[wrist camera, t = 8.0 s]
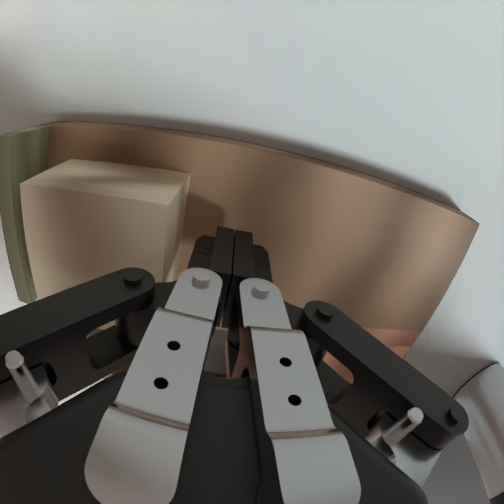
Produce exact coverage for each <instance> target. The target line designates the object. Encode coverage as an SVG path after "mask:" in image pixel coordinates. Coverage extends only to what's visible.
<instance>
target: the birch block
mask: <svg viewBox="0 0 504 504" xmlns="http://www.w3.org/2000/svg"><path fill="white" fill-rule="evenodd" d="M190 175H191V174H190V173H183V172H177V171H171V170H164V169H157V168H150V167H142V166H135V165H127V164H119V163H110V162H101V161H91V160H80V159H70V160H68V161H66V162H63V163H61V164H59V165H57V166H54V167H52V168H50V169H48V170H46V171H44V172H42V173H40V174H38V175H36V176H34V177H32V178H30V179H28V180H26V181H24V182H22V183H20V193H21V206H22V216H23V224H24V232H25V239H26V245H27V251H28V257H29V262H30V267H31V272H32V276H33V281H34V285H35V289H36V293H37V297H38V300H40V299H42V298H45V297H48V296H50V295H53V294H55V293H58V292H61V291H63V290H66V289H69V288H71V287H74V286H77V285H79V284H82V283H85V282H87V281H90V280H93V279H95V278H98V277H101V276H104V275H106V274H109V273H112V272H115V271H117V270H120V269H123V268H129V267H136V268H141V269H144V270H147V271H148V272H150V273H151V274H152V275H153V276H154V279H155V283H159V282H172V281H176V280H177V279H178V269H179V259H180V250H181V241H182V233H183V225H184V217H185V209H186V202H187V195H188V188H189V182H190ZM113 325H115V320H114V321H111V322H109V323H107V324H105V325H103V326H101V327H98V329H102V330H105V329H107V328H109V327H111V326H113Z"/></svg>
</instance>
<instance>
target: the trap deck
mask: <svg viewBox="0 0 504 504" xmlns="http://www.w3.org/2000/svg"><path fill="white" fill-rule="evenodd" d="M70 159H80V160H91V161H101V162H110V163H119V164H127V165H135V166H142V167H150V168H157V169H164V170H171V171H177V172H183V173H190V174H191V175H190V182H189V188H188V195H187V202H186V209H185V217H184V225H183V233H182V241H181V250H180V259H179V269H178V278H179V276H180V274H181V273H182V272H183V271H184V270H186V269H187V267H188V264H189V261H190V257H191V254H192V251H193V248H194V245H195V242H196V239H198V238H199V237H200V236H202V235H207V236H212V237H215V236H216V231H217V226H220V227H226V228H231V229H234V233H235V230H241V231H247V232H252V233H253V244H255V245H260V246H263V247H264V248H265V250H266V251H267V252H268V254H269V261H270V267H271V274H272V280H273V284H274V285H276V286H277V287H278V288H279V290H280V292H281V294H282V298H283V300H284V301H286V302H287V303H289V304H292V305H294V306H297V307H300V308H303V309H304V306H305V304H306V303H308V302H310V301H314V300H319V301H324V302H327V303H329V304H331V305H333V306H335V307H336V308H337V309H339V310H340V311H341V312H343V313H344V314H345V315H347V316H348V317H349V318H350V319H352V320H353V321H354V322H356V323H357V324H358V325H360V326H361V327H362V328H363V329H365V330H366V331H367V332H369V333H370V334H371V335H372V336H374V337H375V338H376V339H378V340H379V341H380V342H382V343H383V344H384V345H385V346H387V347H388V348H389V349H391V350H392V351H393V352H394V353H396V354H397V355H398V356H400V357H401V358H403V357H404V356H405V354H406V353H407V352H408V350H409V349H410V347H411V346H412V345H413V343H414V342H415V340H416V339H417V337H418V336H419V335H420V333H421V332H422V330H423V329H424V327H425V326H426V324H427V322H428V321H429V319H430V318H431V316H432V315H433V313H434V311H435V310H436V308H437V306H438V305H439V303H440V301H441V300H442V298H443V296H444V295H445V293H446V291H447V289H448V288H449V286H450V284H451V282H452V280H453V279H454V277H455V275H456V273H457V271H458V269H459V267H460V265H461V263H462V261H463V259H464V257H465V255H466V253H467V251H468V249H469V247H470V245H471V242H472V240H473V238H474V236H475V233H476V231H477V229H478V227H479V223H478V222H476V221H475V220H473V219H472V218H471V217H469V216H468V215H466V214H465V213H463V212H462V211H460V210H457V209H455V208H453V207H451V206H448V205H446V204H444V203H441V202H439V201H437V200H434V199H432V198H429V197H427V196H424V195H422V194H419V193H417V192H414V191H412V190H409V189H406V188H404V187H401V186H398V185H396V184H393V183H390V182H387V181H385V180H382V179H379V178H376V177H373V176H370V175H367V174H364V173H361V172H358V171H355V170H351V169H348V168H345V167H342V166H338V165H335V164H332V163H328V162H325V161H321V160H318V159H314V158H310V157H307V156H303V155H299V154H295V153H291V152H287V151H283V150H279V149H275V148H270V147H266V146H262V145H257V144H252V143H248V142H243V141H238V140H233V139H227V138H222V137H216V136H211V135H205V134H199V133H192V132H186V131H179V130H172V129H164V128H156V127H147V126H137V125H126V124H113V123H98V122H73V121H56V122H51V123H46V124H42V125H38V126H34V127H30V128H26V129H22V130H18V131H14V132H11V133H7V134H4V135H1V136H0V212H1V220H2V227H3V233H4V239H5V245H6V250H7V255H8V260H9V264H10V268H11V273H12V277H13V281H14V284H15V288H16V292H17V295H18V299H19V300H20V301H22V302H25V303H28V304H30V303H32V302H35V300H36V299H37V298H38V297H37V293H36V289H35V285H34V281H33V276H32V272H31V267H30V262H29V257H28V251H27V245H26V239H25V232H24V224H23V216H22V206H21V193H20V183H22V182H24V181H26V180H28V179H30V178H32V177H34V176H36V175H38V174H40V173H42V172H44V171H46V170H48V169H50V168H52V167H54V166H57V165H59V164H61V163H63V162H66V161H68V160H70ZM177 280H178V279H177ZM221 324H222V318H221V323H220V327H215V332H214V335H213V337H212V338H211V343H210V347H209V352H208V356H207V361H206V366H205V370H204V372H206V373H209V374H212V375H215V376H217V377H220V378H224V379H227V376H226V356H225V342H226V338H227V334H228V328H222V327H221ZM101 331H103V330H102V329H98V328H96V329H94V330H92V331H91V332H90V333H89V334H88V335H87V337H86V338H88V337H90V336H92V335H94V334H96V333H98V332H101ZM323 361H324V362H325V363H326V364H328V365H329V366H330V367H331V368H332V369H333V370H335V371H336V372H337V373H338V374H339V375H340V376H342V377H343V378H344V379H345V380H346V381H347V382H349V383H350V384H352V383H353V375H352V373H351V371H350V370H349V369H348V368H346V367H345V366H344V365H343V364H342V363H340V362H339V361H338V360H337V359H336V358H335V357H333V356H332V355H331V354H330V353H329V352H327V353H326V355H325V357H324V359H323ZM131 363H132V362H131ZM131 363H129V364H127V365H126V366H124V367H122V368H120V369H118V370H117V371H115V372H113V373H111V374H109V375H107V376H106V377H104V379H105V378H107V377H109V376H111V375H113V374H116V373H118V372H121V371H125V370H129V368H130V365H131Z"/></svg>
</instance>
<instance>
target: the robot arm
mask: <svg viewBox="0 0 504 504" xmlns="http://www.w3.org/2000/svg"><path fill="white" fill-rule="evenodd" d="M221 318H222V324H221V327H222V328H228V334H227V338H226V342H225V356H226V376H227V379H224V378H220V377H217V376H215V375H212V374H209V373H206V372H204V370H205V366H206V361H207V356H208V352H209V347H210V343H211V338H212V337H213V335H214V332H215V327H220V323H221ZM114 320H115V325H113V326H111V327H109V328H107V329H105V330H103V331H101V332H98V333H96V334H94V335H92V336H90V337H88V338H86V337H87V335H88V334H89V333H90V332H91V331H92V330H94V329H96V328H98V327H101V326H103V325H105V324H107V323H109V322H111V321H114ZM327 352H329V353H330V354H331V355H332V356H333V357H335V358H336V359H337V360H338V361H339V362H340V363H342V364H343V365H344V366H345V367H346V368H348V369H349V370H350V371H351V373H352V375H353V383H352V384H350V383H349V382H347V381H346V380H345V379H344V378H343V377H342V376H340V375H339V374H338V373H337V372H336V371H335V370H333V369H332V368H331V367H330V366H329V365H328V364H326V363H325V362H324V361H323V359H324V357H325V355H326V353H327ZM131 362H132V363H131ZM129 363H131V365H130V368H129V370H125V371H121V372H118V373H116V374H113V375H111V376H109V377H107V378H105V379H104V380H102V381H100V382H99V383H97V384H95V385H94V386H92V387H90V388H89V389H87V390H85V391H83V392H82V393H80V394H78V395H77V396H75V397H73V398H71V399H70V400H68V401H66V402H64V403H63V404H61V405H59V406H58V402H59V401H61V400H62V399H64V398H66V397H68V396H70V395H72V394H74V393H76V392H78V391H80V390H81V389H83V388H85V387H87V386H89V385H91V384H93V383H95V382H96V381H98V380H100V379H102V378H104V377H106V376H107V375H109V374H111V373H113V372H115V371H117V370H118V369H120V368H122V367H124V366H126V365H127V364H129ZM463 433H464V434H465V436H466V439H467V441H468V443H469V446H470V448H471V451H472V453H473V456H474V458H475V461H476V463H477V466H478V468H479V471H480V474H481V477H482V479H483V482H484V485H485V488H486V491H487V494H488V497H489V501H490V504H504V369H503V367H502V366H501V364H499V363H497V364H494V365H491V366H489V367H487V368H486V369H484V370H483V371H481V372H480V373H478V374H477V375H476V376H475V377H473V378H472V379H471V380H470V381H469V382H467V383H466V384H465V385H464V386H463V387H462V388H461V389H460V390H459V391H458V392H457V394H456V395H455V396H454V398H452V397H451V396H450V395H448V394H447V393H446V392H444V391H443V390H442V389H441V388H439V387H438V386H437V385H435V384H434V383H433V382H432V381H430V380H429V379H428V378H427V377H425V376H424V375H423V374H421V373H420V372H419V371H418V370H416V369H415V368H414V367H412V366H411V365H410V364H409V363H407V362H406V361H405V360H403V359H402V358H401V357H400V356H398V355H397V354H396V353H394V352H393V351H392V350H391V349H389V348H388V347H387V346H385V345H384V344H383V343H382V342H380V341H379V340H378V339H376V338H375V337H374V336H372V335H371V334H370V333H369V332H367V331H366V330H365V329H363V328H362V327H361V326H360V325H358V324H357V323H356V322H354V321H353V320H352V319H350V318H349V317H348V316H347V315H345V314H344V313H343V312H341V311H340V310H339V309H337V308H336V307H335V306H333V305H331V304H329V303H327V302H324V301H319V300H314V301H310V302H308V303H306V304H305V306H304V309H303V308H300V307H297V306H294V305H292V304H289V303H287V302H286V301H284V300H283V298H282V294H281V292H280V290H279V288H278V287H277V286H276V285H274V284H273V280H272V274H271V267H270V261H269V254H268V252H267V251H266V250H265V248H264V247H263V246H260V245H255V244H253V233H252V232H247V231H241V230H235V233H234V229H231V228H226V227H220V226H217V231H216V236H215V237H212V236H207V235H202V236H200V237H199V238H198V239H196V242H195V245H194V248H193V251H192V254H191V257H190V261H189V264H188V267H187V269H186V270H184V271H183V272H182V273H181V274H180V276H179V278H178V280H176V281H172V282H159V283H155V279H154V276H153V275H152V274H151V273H150V272H148V271H147V270H144V269H141V268H136V267H129V268H123V269H120V270H117V271H115V272H112V273H109V274H106V275H104V276H101V277H98V278H95V279H93V280H90V281H87V282H85V283H82V284H79V285H77V286H74V287H71V288H69V289H66V290H63V291H61V292H58V293H55V294H53V295H50V296H48V297H45V298H42V299H40V300H37V301H35V302H32V303H30V304H27V305H25V306H22V307H19V308H17V309H14V310H12V311H9V312H7V313H5V314H2V315H0V504H428V500H427V498H426V495H425V493H424V491H423V490H422V489H421V487H422V485H423V483H424V482H425V480H426V478H427V477H428V475H429V473H430V471H431V470H432V468H433V466H434V464H435V462H436V460H437V458H438V456H439V454H440V452H441V451H442V450H443V449H445V448H446V447H447V446H449V445H450V444H451V443H452V442H454V441H455V440H456V439H457V438H459V437H460V436H461V435H462V434H463Z"/></svg>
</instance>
